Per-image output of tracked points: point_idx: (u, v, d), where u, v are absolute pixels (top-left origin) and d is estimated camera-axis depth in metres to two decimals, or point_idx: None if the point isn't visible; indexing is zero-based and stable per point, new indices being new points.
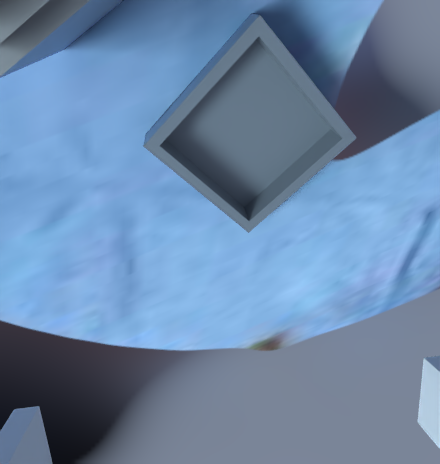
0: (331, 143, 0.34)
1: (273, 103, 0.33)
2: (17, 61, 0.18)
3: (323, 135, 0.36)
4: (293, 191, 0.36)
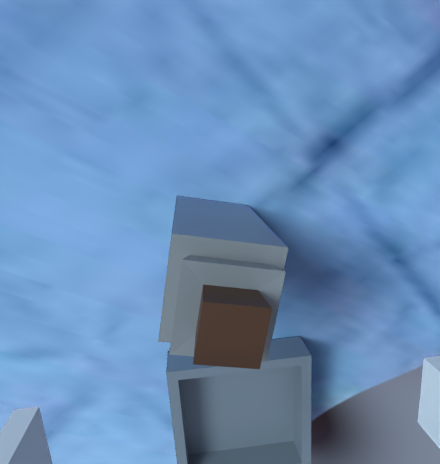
0: (291, 458, 0.38)
1: (271, 397, 0.38)
2: None
3: (286, 441, 0.40)
4: None
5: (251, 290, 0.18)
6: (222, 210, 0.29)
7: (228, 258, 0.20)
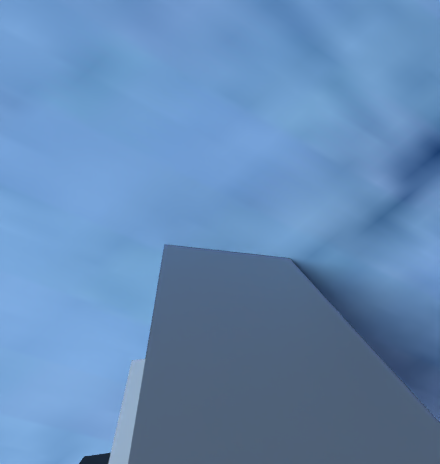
0: None
1: None
2: None
3: None
4: None
5: None
6: (252, 285, 0.14)
7: None
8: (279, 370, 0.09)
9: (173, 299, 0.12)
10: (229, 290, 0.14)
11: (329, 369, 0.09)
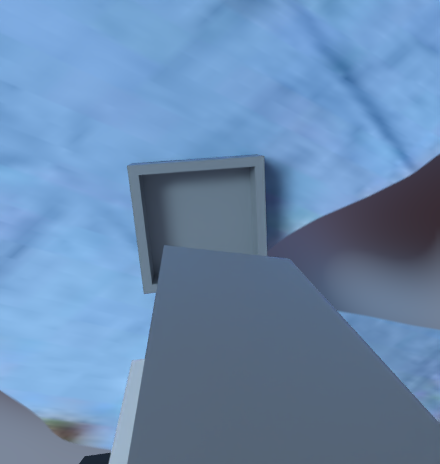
0: None
1: (231, 216, 0.41)
2: None
3: None
4: None
5: None
6: (252, 286, 0.14)
7: None
8: (279, 371, 0.09)
9: (172, 300, 0.12)
10: (229, 291, 0.14)
11: (329, 370, 0.09)
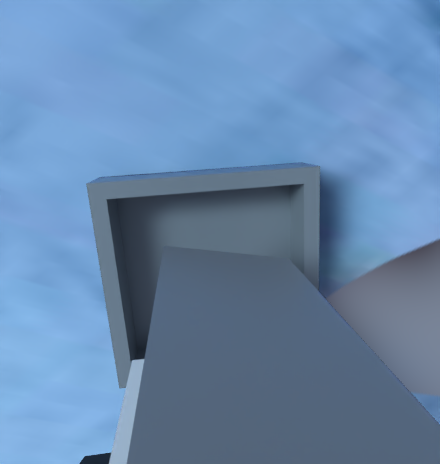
0: None
1: None
2: None
3: None
4: None
5: None
6: (252, 286, 0.14)
7: None
8: (278, 372, 0.09)
9: (172, 301, 0.12)
10: (228, 291, 0.14)
11: (328, 370, 0.09)
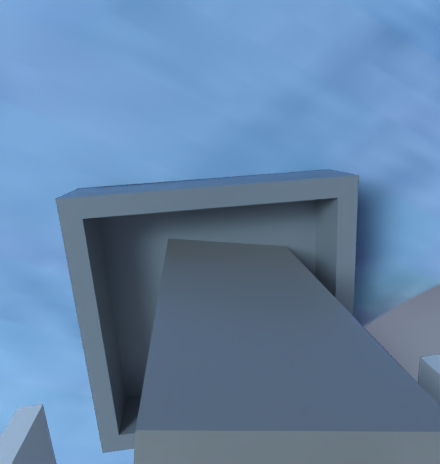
0: None
1: None
2: None
3: None
4: None
5: None
6: (249, 270, 0.16)
7: None
8: (269, 337, 0.10)
9: (176, 284, 0.13)
10: (228, 275, 0.15)
11: (314, 335, 0.11)
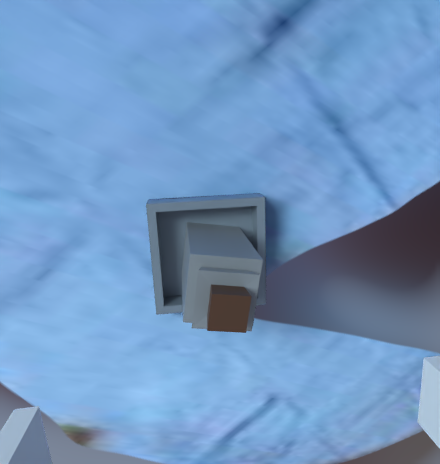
0: None
1: None
2: None
3: None
4: None
5: (240, 287, 0.31)
6: (220, 233, 0.41)
7: (225, 268, 0.32)
8: (222, 246, 0.36)
9: (193, 235, 0.39)
10: (211, 233, 0.40)
11: (236, 247, 0.36)
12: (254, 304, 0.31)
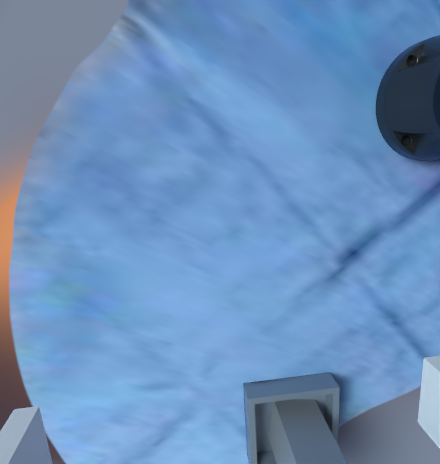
0: None
1: None
2: None
3: None
4: None
5: None
6: (306, 420, 0.52)
7: None
8: (317, 453, 0.46)
9: (289, 431, 0.49)
10: (300, 424, 0.51)
11: (327, 451, 0.47)
12: None
